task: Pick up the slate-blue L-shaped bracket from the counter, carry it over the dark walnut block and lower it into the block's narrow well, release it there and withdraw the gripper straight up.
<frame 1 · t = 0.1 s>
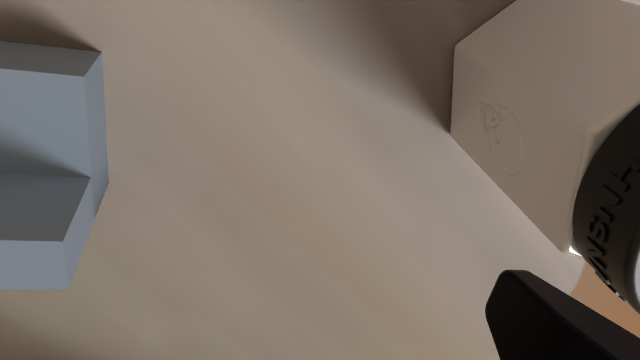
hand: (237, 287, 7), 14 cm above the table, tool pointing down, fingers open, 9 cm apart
bracket: (53, 117, 20), on the table
jar: (525, 77, 23), on the table
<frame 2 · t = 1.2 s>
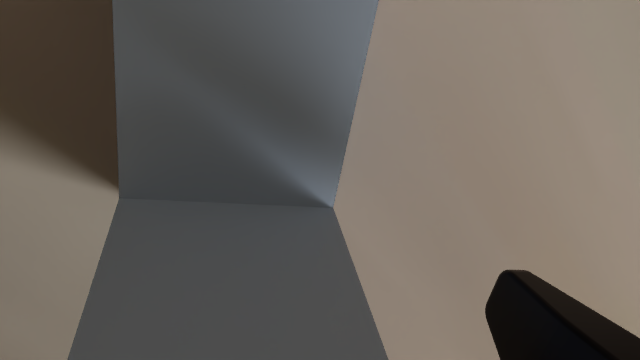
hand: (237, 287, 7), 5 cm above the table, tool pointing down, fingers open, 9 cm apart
bracket: (232, 96, 11), on the table
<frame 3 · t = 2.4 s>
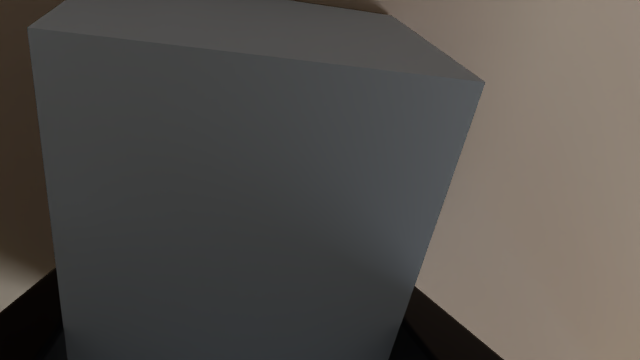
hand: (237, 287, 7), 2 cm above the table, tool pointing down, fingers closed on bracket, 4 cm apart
bracket: (239, 180, 8), on the table, touching gripper
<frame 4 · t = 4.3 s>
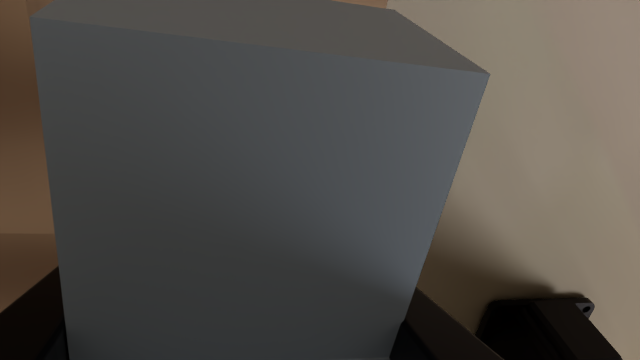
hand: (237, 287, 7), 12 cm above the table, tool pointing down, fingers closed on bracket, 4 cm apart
well block: (159, 82, 17), on the table
bracket: (241, 175, 8), point 10 cm above the table, touching gripper
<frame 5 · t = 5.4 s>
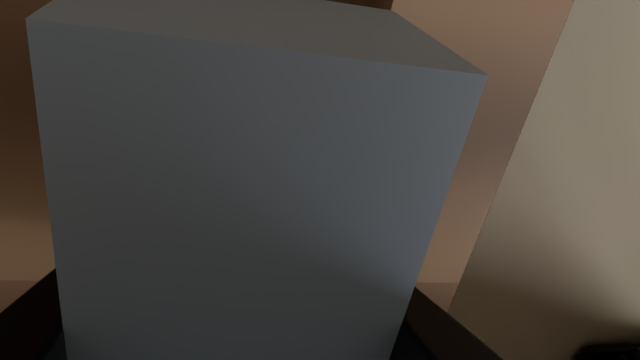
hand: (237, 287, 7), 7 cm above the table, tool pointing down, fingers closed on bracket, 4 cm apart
well block: (227, 73, 13), on the table
bracket: (239, 176, 8), point 5 cm above the table, touching gripper
when the fingers open (4 cm above the table, at t = 6.2 s): bracket drops 2 cm, resting on well block.
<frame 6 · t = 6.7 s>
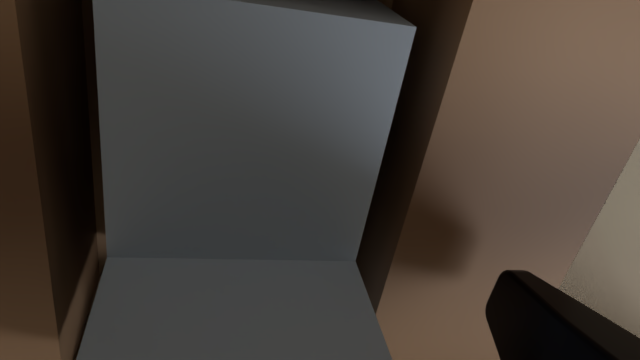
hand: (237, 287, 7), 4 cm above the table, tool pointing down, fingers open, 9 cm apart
well block: (233, 117, 10), on the table
bracket: (237, 127, 10), point 1 cm above the table, touching well block
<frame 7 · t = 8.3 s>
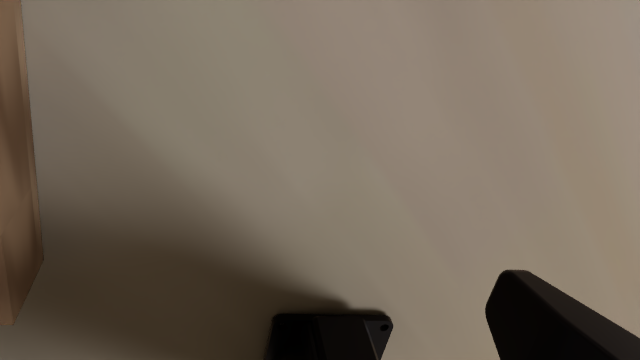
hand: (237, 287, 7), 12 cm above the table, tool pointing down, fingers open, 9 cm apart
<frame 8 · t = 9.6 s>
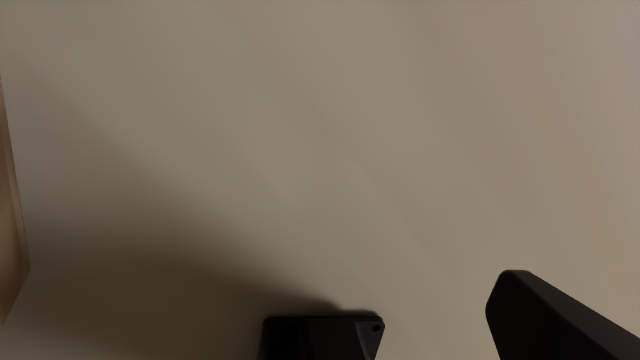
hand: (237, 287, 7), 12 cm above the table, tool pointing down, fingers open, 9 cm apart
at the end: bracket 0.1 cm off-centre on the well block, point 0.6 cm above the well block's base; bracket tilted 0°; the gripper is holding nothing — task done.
